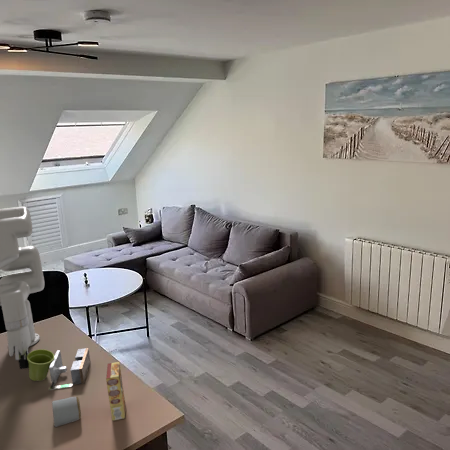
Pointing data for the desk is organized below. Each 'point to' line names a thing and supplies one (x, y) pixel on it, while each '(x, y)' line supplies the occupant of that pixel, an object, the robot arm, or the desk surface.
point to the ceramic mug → (66, 410)
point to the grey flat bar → (56, 368)
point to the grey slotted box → (78, 369)
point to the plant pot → (39, 364)
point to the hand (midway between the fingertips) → (25, 367)
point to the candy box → (115, 391)
